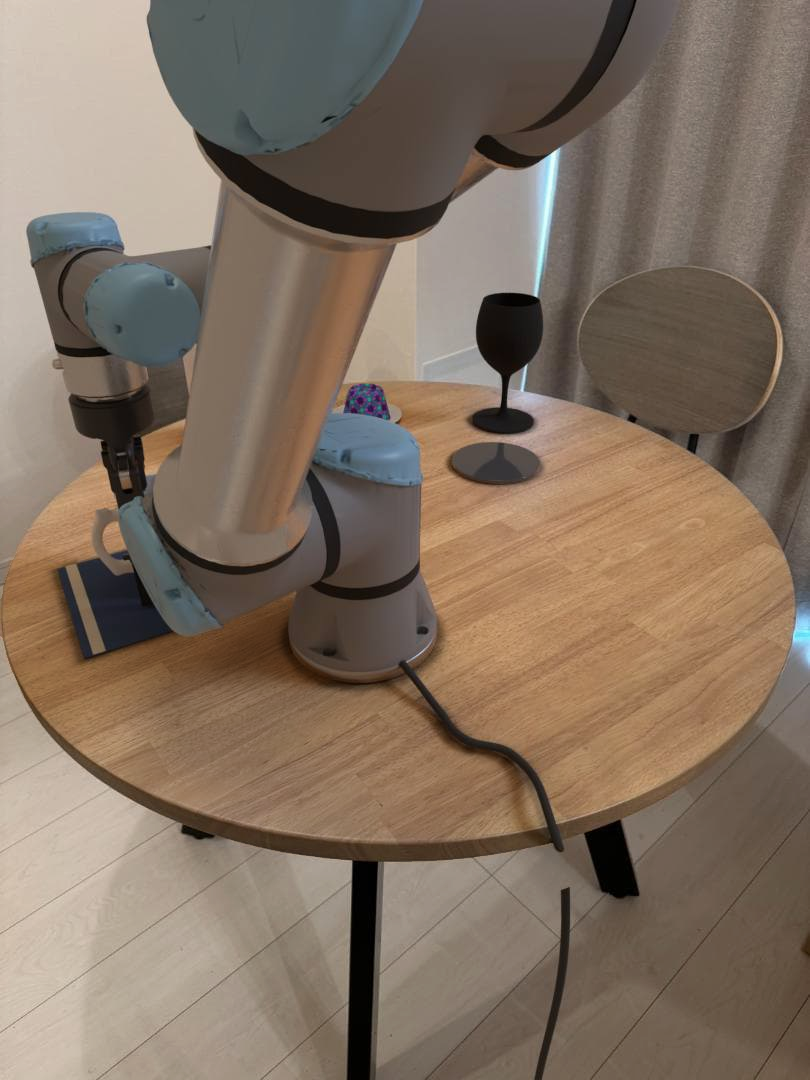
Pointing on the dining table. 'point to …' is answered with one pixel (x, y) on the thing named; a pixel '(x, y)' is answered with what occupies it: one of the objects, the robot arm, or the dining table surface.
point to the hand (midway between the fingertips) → (152, 581)
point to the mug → (100, 524)
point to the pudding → (369, 403)
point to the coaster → (496, 463)
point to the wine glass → (507, 352)
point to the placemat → (107, 607)
